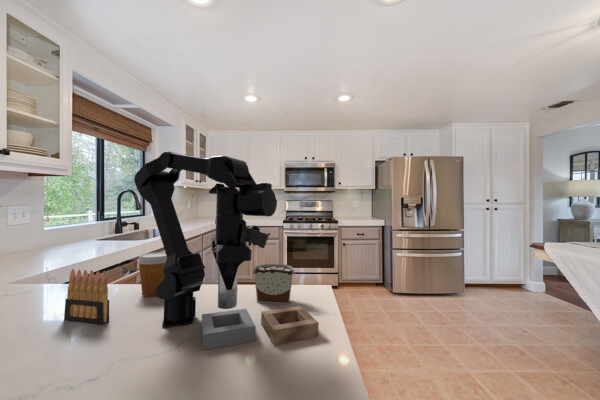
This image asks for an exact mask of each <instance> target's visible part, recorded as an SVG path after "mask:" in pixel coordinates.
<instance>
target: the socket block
mask: <svg viewBox="0 0 600 400" xmlns="http://www.w3.org/2000/svg"><path fill="white" fill-rule="evenodd" d="M201 336H202V348H203V351H206V350H211V349H213V350H214V349H218V347H219V348H223V347H228V346H235V345H240V344H244V343H251V342H255V341H256V325H255V322H254V321H253V319H252V317H251V315H250V313H249V311H248V309H247V308H239V309H233V310H226V311H217V312H209V313H202V314H201Z"/></svg>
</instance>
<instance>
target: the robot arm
mask: <svg viewBox="0 0 600 400" xmlns="http://www.w3.org/2000/svg"><path fill="white" fill-rule="evenodd" d="M166 169H170V170H169V171H167V170H166ZM249 169H250V168H249V166H248V164H247V162H246V161H244V160H241V159H238V158H234V157H232V156H231V157H230V156H228V155H227V156H226V155H215V156H210V157H207V158H206V157H199V156H193V155H185V154H181V153H179V152H178V153H177V152H174V151H163V152H162V153H161V154H160V155H159V156H158V157H157V158H155V159H152V160H151V161H148V162H146V163H144V164H143V165H142V167H141V168H140V169H139V170H138V171H137V172H136V173H135V175H134V178H133V182H134V184H135V187H136V189H137V191H138V194H139V195H140V197H142V198H143V199H144V200H145V201H146V202H147V203H149V205H150V207H151V210H152V214H153V218H154V219H155V222H156V226H157V230H158V232H159V236H160V239H161V242H162V246H163V249H164V252H166V256H167V259H166V263H165V266H164V269H163V272H164V277H165V278H164V279H163V281H162V282H161V283H160V284H159V285H158V287H157V288H156V294H157V296H156V298H157V299H161V300H163V321H162V324H161V327H162V328H167V327H174V326H181V325H188V324H193V323H194V318H195V317H196V304H197V303H196V301H197V298H196V296H194V293H196V292H198V291H200V290H201V287H202V284H203V281H204V278H205V277H206V274H205V269H206V266H205V265H204V263H203V261H202V255H201V254H200V253H199V252H198V253H193V252H192V251H191V250H190V249H189V247H188V245H187V244H188V243H187V241H186V237H185V235H184V232H183V229H182V226H181V223H180V221H179V217H178V213H177V211H176V208H175V206H174V203H173V199H172V198H173V194H174V192H175V183H177V182H178V181H179V180H180V176H181V171H186V172H192V173H196V174H197V173H198V174H201V175H205V176H206V177H207V178H208V179H210V180H212V181H215V182H216V183H215V185H214V186H212V188H210V189H209V191H208V193H209V194H210V195H216V204H215V205H216V206H215V207H216V210H215V215H216V216H215V219H214V224H215V236H214V237H213V238H211V243H210V246H211V250H212V255H213V256H214V260H215V262H216V264H217V268H218V271H219V270H220V273H221V276H222V279H223V281H224V284H225V287H226V290H232V287H233V284H234V280H235V277H236V273H237V270H238V269H239V267H240V266H241V264H243V263H245V262H248V261H249V262H251V261H252V249H251V248H250V247H249V246H248V245H247V243H249V244H253V245H255V246H258V247H259V248H261V249H265V247H266V245H267V242H268V239H269V236H270V235H269V234H267V233H265V232H262V231H261V229H260V228H261V227H260V226H256V225H254V224H252V225H250V227H248V226H247V222H246V220H245V219H244V216H249V217H271V216H273V215H274V214H275V212H276V211H277V210H276V209H277V206H278V205H277V204H278V200H277V197H276V194H275V192H274V190H273V189H272V188H273V187H272V186H273V185H272V183H270V182H269V183H268V182H261V183H256V181H255V179H254V178H253V176H252V174H251V173H250V170H249ZM215 248H216V250H215ZM213 250H214V251H213ZM238 271H239V270H238Z"/></svg>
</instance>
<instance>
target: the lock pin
mask: <svg viewBox="0 0 600 400" xmlns="http://www.w3.org/2000/svg"><path fill="white" fill-rule="evenodd" d="M238 271H239V270H237V273H236V277H235V280H234V284H233V287H232V290H226V287H225V284H224V281H223V279H222V276H221V273H220V270H219V269H218V278H217V279H218V283H217V285H218V286H217V287H218V288H217V290H218V291H217V308H218V309H221V310H230V309H234V308H236V307H237V305H238V273H239V272H238Z"/></svg>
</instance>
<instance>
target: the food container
mask: <svg viewBox="0 0 600 400" xmlns="http://www.w3.org/2000/svg"><path fill="white" fill-rule="evenodd" d="M252 275H254V281H255V293H256V303H265V304H266V303H267V304H282V305H289V304H290V300H291V290H292V281H293V275H294V277H295V276H296V275H295V270H294V268H293V266H291V265H289V264H282V263H265V264H260V265H257V266H254V269H252Z"/></svg>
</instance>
